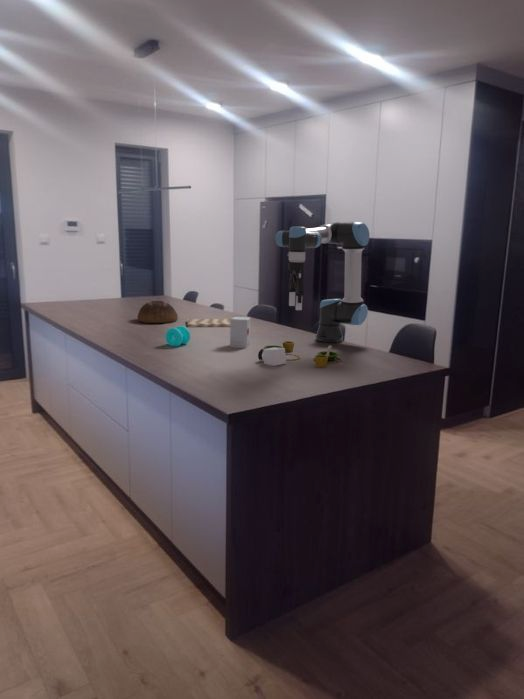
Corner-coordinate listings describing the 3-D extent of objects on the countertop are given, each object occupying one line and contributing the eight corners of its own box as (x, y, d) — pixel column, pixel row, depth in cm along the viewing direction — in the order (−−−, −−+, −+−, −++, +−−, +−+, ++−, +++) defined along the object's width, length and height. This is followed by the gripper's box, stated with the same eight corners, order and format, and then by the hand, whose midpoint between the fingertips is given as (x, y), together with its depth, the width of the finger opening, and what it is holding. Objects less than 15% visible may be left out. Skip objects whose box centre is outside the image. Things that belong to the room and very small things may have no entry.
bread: (174, 317, 369) (174, 298, 366) (180, 323, 344) (180, 303, 341) (136, 318, 362) (135, 298, 359) (139, 324, 337) (138, 304, 334)
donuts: (164, 346, 277) (164, 327, 274) (176, 342, 285) (175, 324, 283) (180, 348, 272) (179, 329, 270) (191, 345, 281) (191, 326, 279)
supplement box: (246, 348, 275) (247, 319, 272) (229, 347, 277) (229, 318, 274) (250, 345, 284) (251, 317, 280) (234, 344, 285) (234, 316, 282)
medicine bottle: (285, 348, 242) (266, 346, 250) (274, 350, 237) (255, 348, 245) (286, 363, 243) (267, 361, 251) (275, 366, 238) (256, 363, 246)
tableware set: (353, 366, 247) (354, 352, 245) (303, 372, 233) (303, 358, 232) (303, 348, 282) (304, 336, 280) (257, 353, 268) (257, 340, 267)
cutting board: (232, 321, 356) (232, 318, 356) (236, 326, 337) (236, 324, 336) (186, 321, 351) (186, 319, 351) (187, 327, 332) (187, 324, 331)
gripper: (282, 259, 255) (281, 304, 259) (295, 263, 231) (293, 312, 235) (298, 259, 256) (296, 304, 261) (311, 263, 232) (310, 311, 237)
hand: (295, 308), depth 248 cm, fingers open, 13 cm apart
